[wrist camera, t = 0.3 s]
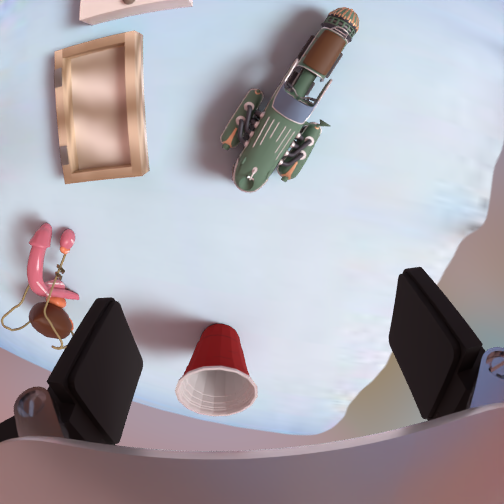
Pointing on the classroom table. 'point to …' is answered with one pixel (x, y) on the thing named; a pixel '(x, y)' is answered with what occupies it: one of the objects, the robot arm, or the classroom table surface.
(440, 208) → the classroom table surface
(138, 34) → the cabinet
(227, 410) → the plastic cup
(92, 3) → the pale pink knobbed block
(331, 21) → the hoverbike
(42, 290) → the anatomy model
